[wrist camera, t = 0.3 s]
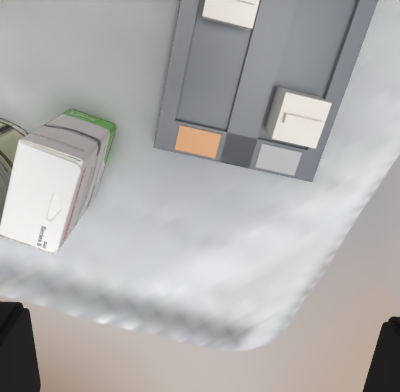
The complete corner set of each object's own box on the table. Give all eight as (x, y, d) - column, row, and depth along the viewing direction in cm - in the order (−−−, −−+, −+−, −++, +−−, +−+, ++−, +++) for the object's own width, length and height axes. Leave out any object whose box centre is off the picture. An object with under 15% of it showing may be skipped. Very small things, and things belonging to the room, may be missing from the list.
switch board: (199, -94, 31) (199, -103, 29) (384, -43, 32) (396, -48, 30) (155, 142, 38) (153, 148, 36) (306, 175, 40) (312, 182, 38)
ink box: (69, 106, 37) (14, 135, 26) (118, 125, 38) (84, 160, 27) (50, 183, 40) (-7, 237, 29) (95, 199, 41) (57, 258, 30)
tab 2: (276, 86, 35) (288, 93, 30) (318, 96, 35) (335, 104, 31) (264, 128, 36) (273, 141, 32) (304, 137, 37) (318, 151, 32)
